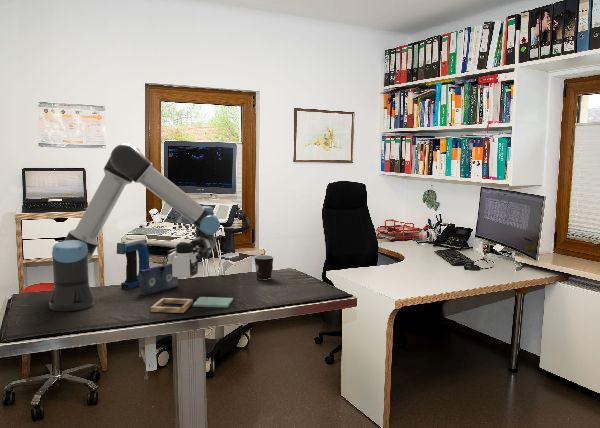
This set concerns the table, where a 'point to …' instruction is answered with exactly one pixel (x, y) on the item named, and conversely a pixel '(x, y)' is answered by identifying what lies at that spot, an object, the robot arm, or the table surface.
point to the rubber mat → (213, 302)
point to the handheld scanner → (134, 260)
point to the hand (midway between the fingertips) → (180, 259)
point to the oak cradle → (182, 309)
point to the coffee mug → (263, 266)
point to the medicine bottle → (184, 261)
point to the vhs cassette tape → (156, 279)
